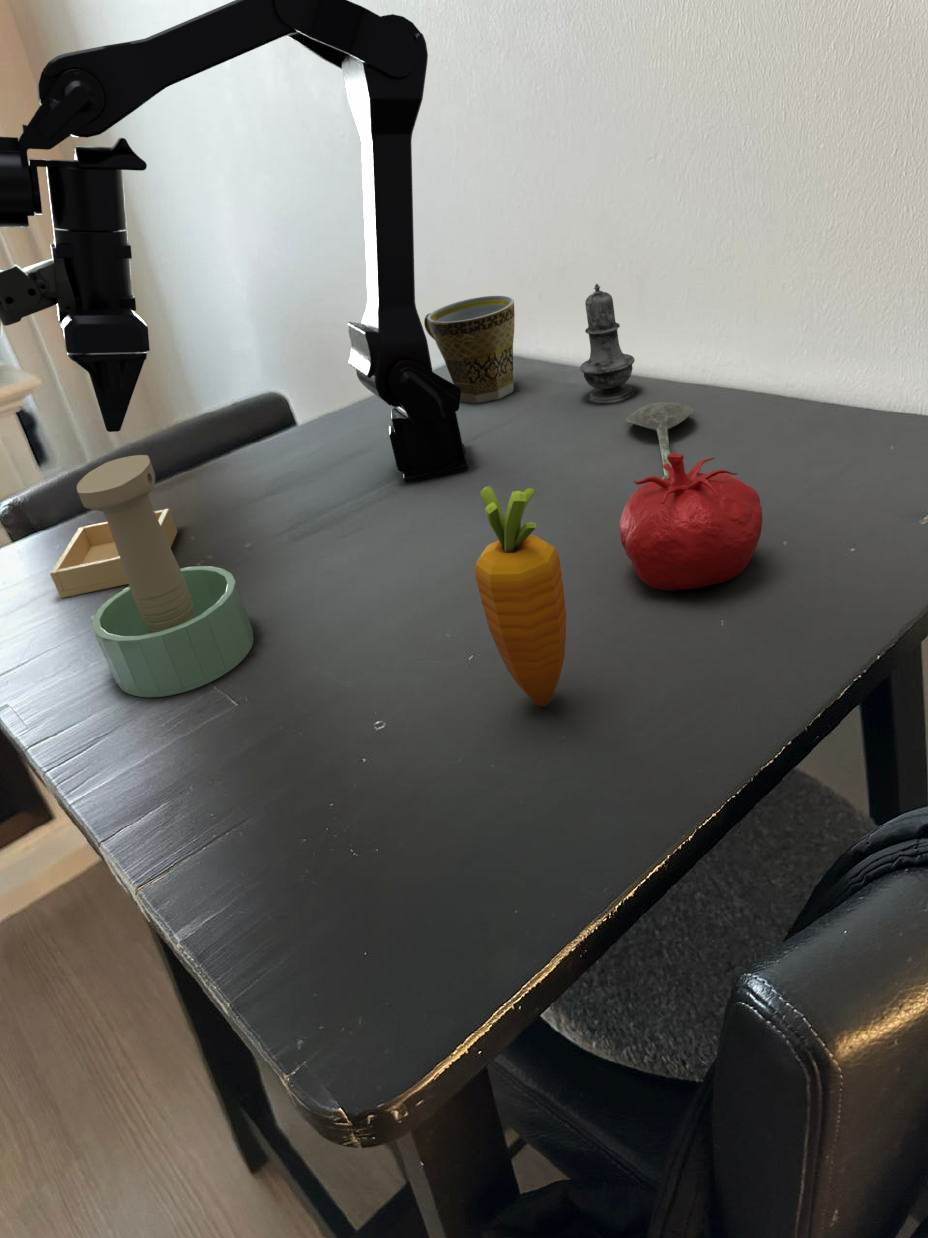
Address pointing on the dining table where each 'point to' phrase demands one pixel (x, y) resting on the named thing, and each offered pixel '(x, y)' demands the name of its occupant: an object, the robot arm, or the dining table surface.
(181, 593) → the handle
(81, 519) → the dining table surface
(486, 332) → the ceramic cup
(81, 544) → the tray
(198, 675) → the green bowl
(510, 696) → the dining table surface
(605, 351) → the salt shaker
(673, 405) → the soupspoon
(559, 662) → the carrot
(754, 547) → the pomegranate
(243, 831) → the dining table surface
